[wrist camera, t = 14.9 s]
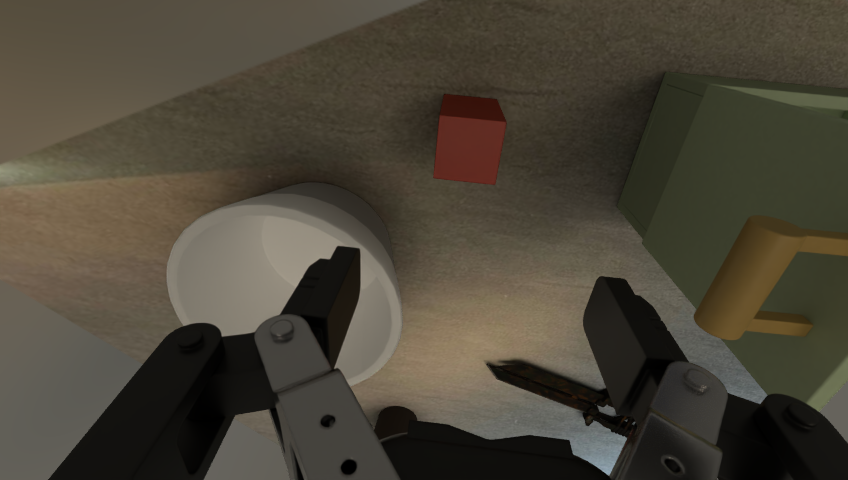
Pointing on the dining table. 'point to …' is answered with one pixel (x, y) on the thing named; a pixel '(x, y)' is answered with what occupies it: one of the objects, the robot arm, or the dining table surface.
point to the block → (469, 139)
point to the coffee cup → (393, 421)
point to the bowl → (287, 267)
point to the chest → (676, 118)
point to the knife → (565, 395)
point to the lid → (763, 238)
